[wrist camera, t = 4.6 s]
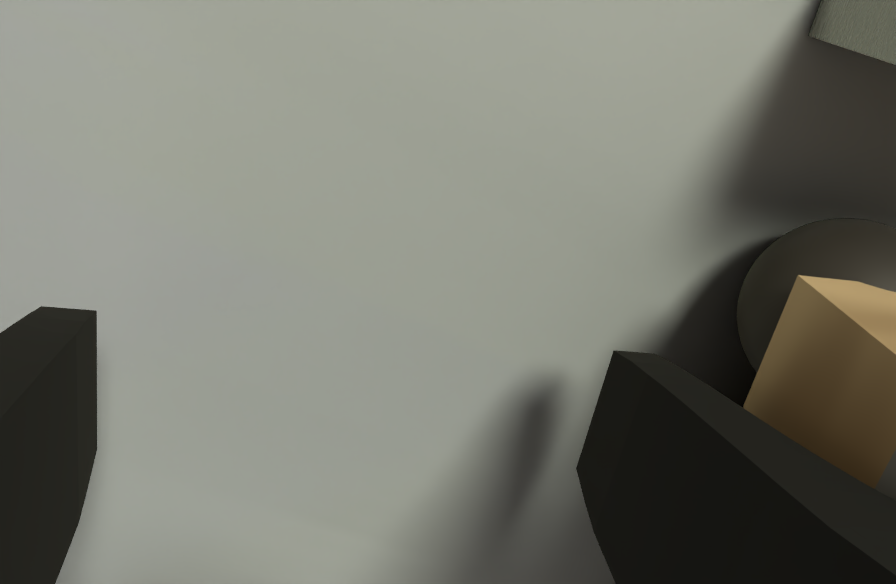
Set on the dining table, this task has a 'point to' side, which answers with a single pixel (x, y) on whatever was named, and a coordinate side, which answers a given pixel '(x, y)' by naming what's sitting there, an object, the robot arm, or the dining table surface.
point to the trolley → (827, 343)
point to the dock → (858, 26)
